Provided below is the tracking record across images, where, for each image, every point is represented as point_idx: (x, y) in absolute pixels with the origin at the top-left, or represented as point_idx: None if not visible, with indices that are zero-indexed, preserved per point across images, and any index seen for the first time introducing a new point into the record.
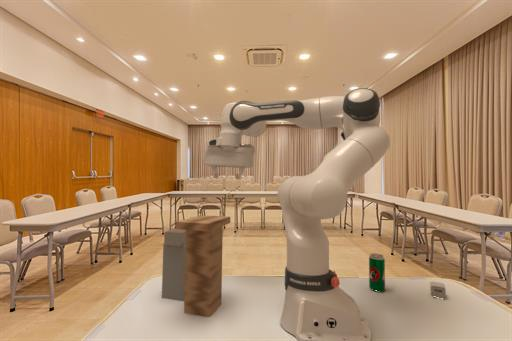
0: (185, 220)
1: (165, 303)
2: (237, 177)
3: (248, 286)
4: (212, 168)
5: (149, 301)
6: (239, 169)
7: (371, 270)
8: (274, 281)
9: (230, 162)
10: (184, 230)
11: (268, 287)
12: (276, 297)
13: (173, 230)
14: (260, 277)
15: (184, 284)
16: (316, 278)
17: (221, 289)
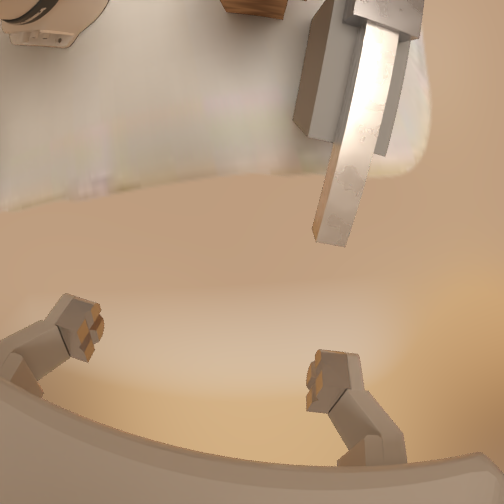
0: None
1: None
2: (75, 302)
3: (183, 110)
4: (387, 434)
5: None
6: (19, 359)
7: None
8: (130, 152)
9: (81, 468)
10: (370, 12)
11: (138, 114)
12: (119, 68)
13: (409, 14)
14: (165, 172)
15: (317, 11)
16: None
17: (222, 4)
